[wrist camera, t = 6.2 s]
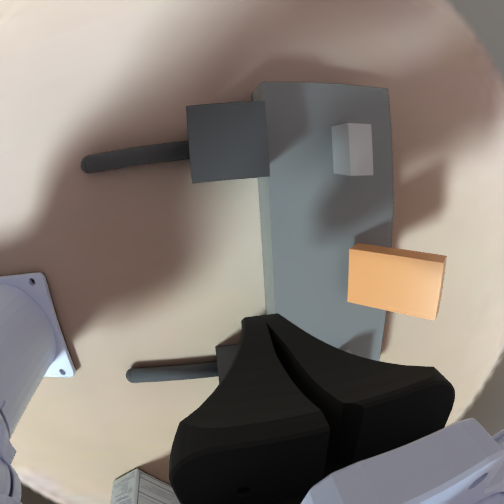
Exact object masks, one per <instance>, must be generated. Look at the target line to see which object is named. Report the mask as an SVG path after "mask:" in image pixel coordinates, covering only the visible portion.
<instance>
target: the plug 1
mask: <svg viewBox="0 0 504 504" xmlns="http://www.w3.org/2000/svg"><path fill="white" fill-rule="evenodd" d="M186 111H187V126H188V140H189V141H181V142H172V143H164V144H157V145H149V146H142V147H136V148H129V149H123V150H117V151H111V152H105V153H100V154H95V155H89V156H86V157H84V158H83V160H82V161H81V168H82V170H83V171H84V172H86V173H93V172H99V171H104V170H110V169H116V168H123V167H129V166H136V165H143V164H150V163H158V162H165V161H174V160H182V159H190V165H191V176H192V183H200V182H210V181H221V180H232V179H244V178H257V177H270V166H269V151H268V136H267V122H266V108H265V101H251V102H231V103H216V104H204V105H193V106H186Z"/></svg>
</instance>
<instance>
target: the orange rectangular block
mask: <svg viewBox="0 0 504 504" xmlns="http://www.w3.org/2000/svg"><path fill="white" fill-rule="evenodd" d="M446 257H447V256H444V255H437V254H430V253H424V252H417V251H410V250H403V249H396V248H390V247H382V246H375V245H368V244H361V243H357V244H356V245H354V246H353V247H351V248H350V249H349V275H348V298H347V302H350V303H355V304H359V305H364V306H368V307H373V308H378V309H382V310H387V311H391V312H396V313H401V314H405V315H410V316H415V317H420V318H424V319H429V320H434V321H435V319H436V316H437V314H438V311H439V306H440V300H441V294H442V288H443V281H444V273H445V265H446Z"/></svg>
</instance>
